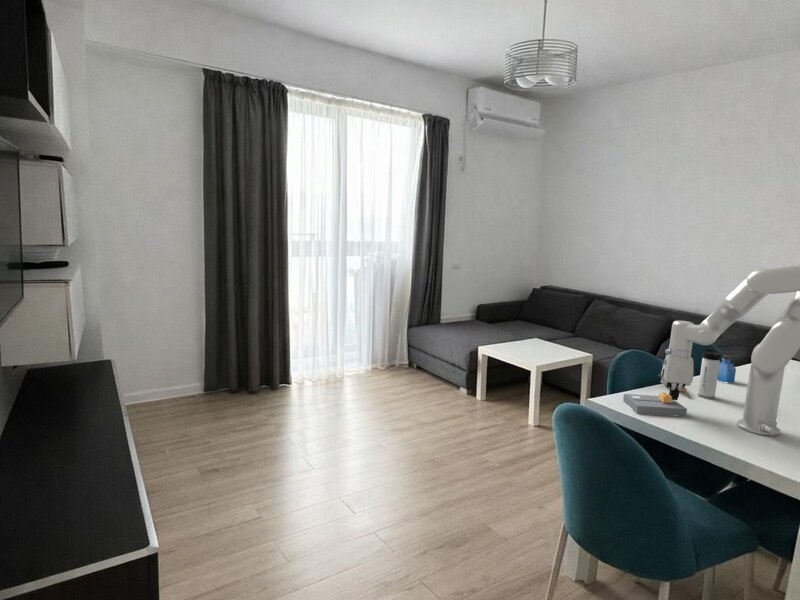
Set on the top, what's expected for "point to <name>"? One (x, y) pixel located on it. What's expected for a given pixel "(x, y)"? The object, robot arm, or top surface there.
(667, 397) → the fader knob
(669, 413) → the console
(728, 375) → the perfume bottle
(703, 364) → the travel mug
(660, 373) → the bird sculpture
